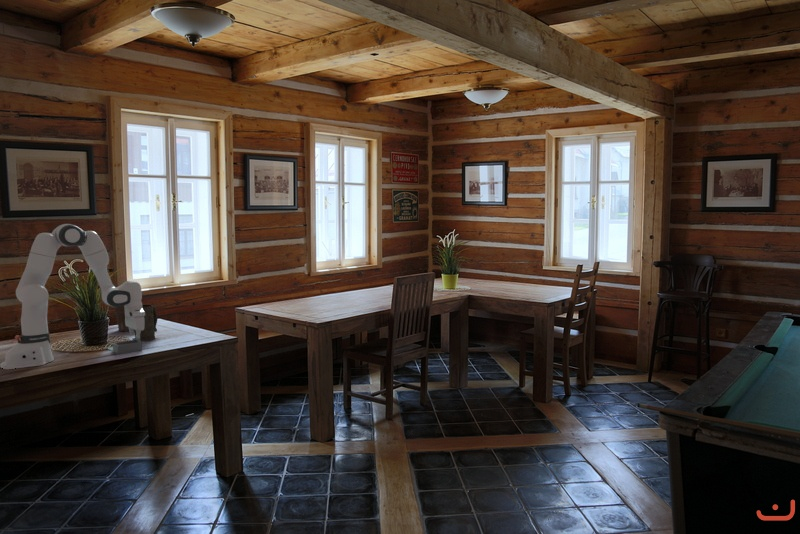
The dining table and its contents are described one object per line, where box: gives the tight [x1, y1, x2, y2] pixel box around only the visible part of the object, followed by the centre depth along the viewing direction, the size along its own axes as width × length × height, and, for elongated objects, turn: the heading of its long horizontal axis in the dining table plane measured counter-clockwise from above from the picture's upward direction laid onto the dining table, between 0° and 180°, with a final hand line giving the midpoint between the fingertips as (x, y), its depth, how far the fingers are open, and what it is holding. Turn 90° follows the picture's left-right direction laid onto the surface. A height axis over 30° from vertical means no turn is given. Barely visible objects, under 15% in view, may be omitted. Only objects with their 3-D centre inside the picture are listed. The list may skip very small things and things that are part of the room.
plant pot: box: [113, 306, 134, 333], centre depth 376 cm, size 16×16×16 cm
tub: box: [112, 339, 143, 355], centre depth 320 cm, size 12×8×5 cm, turn 131°
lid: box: [106, 337, 140, 352], centre depth 329 cm, size 16×8×4 cm, turn 131°
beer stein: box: [134, 304, 159, 343], centre depth 349 cm, size 15×11×20 cm
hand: (135, 336), depth 332 cm, fingers open, 8 cm apart
